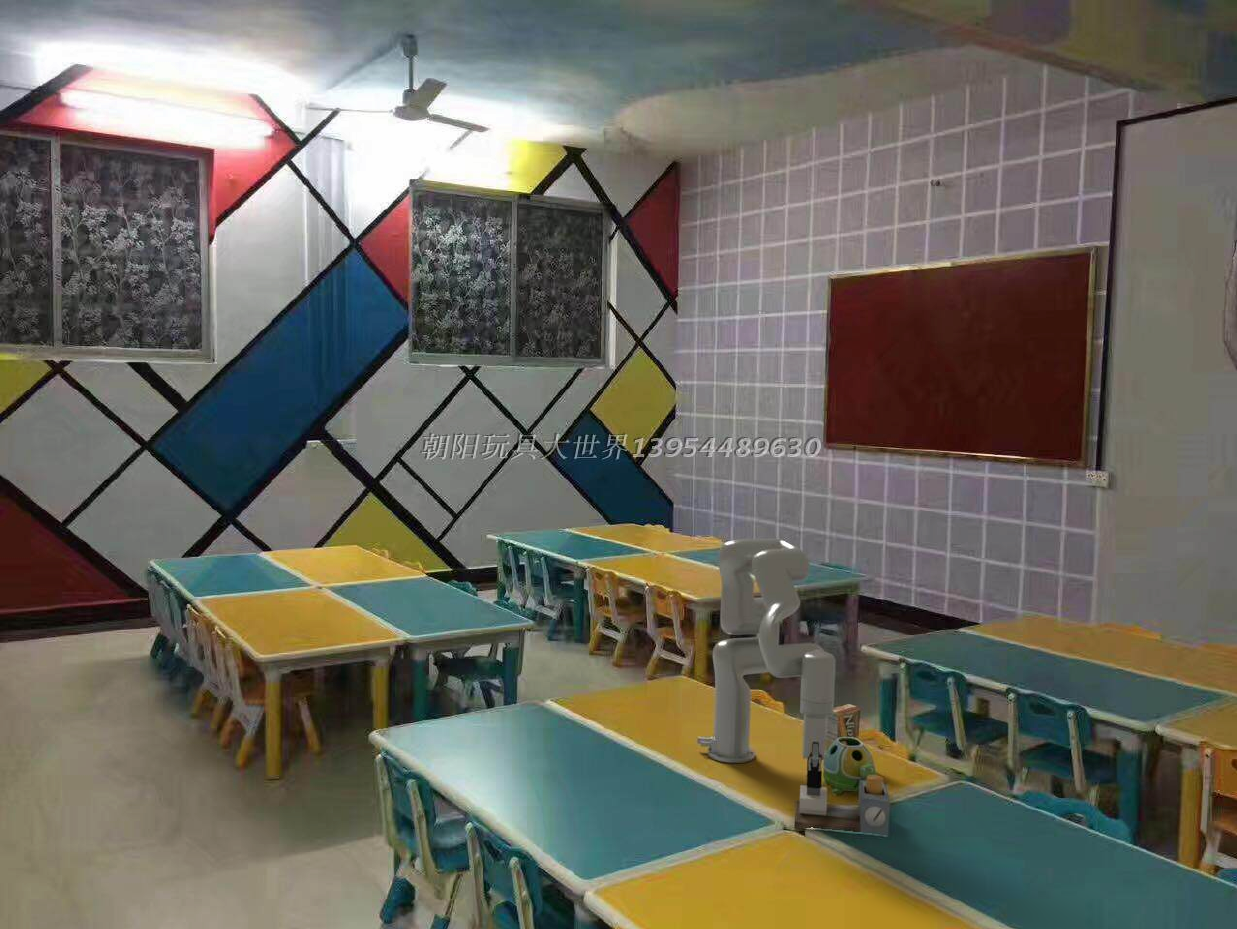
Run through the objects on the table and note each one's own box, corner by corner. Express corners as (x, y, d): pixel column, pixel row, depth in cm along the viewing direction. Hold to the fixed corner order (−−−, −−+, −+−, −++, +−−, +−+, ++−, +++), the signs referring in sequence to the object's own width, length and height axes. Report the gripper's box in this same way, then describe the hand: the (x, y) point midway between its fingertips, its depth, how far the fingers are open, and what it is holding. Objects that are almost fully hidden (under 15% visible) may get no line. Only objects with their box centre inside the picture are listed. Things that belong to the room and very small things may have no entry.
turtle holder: (846, 808, 245) (848, 758, 244) (813, 779, 263) (815, 733, 262) (893, 804, 248) (895, 755, 248) (858, 776, 266) (860, 730, 265)
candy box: (845, 759, 278) (848, 703, 277) (858, 764, 275) (860, 707, 274) (824, 766, 272) (826, 709, 271) (837, 771, 269) (839, 713, 268)
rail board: (794, 827, 233) (794, 812, 233) (795, 806, 245) (795, 792, 245) (860, 834, 231) (861, 819, 231) (858, 813, 243) (858, 798, 242)
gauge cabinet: (860, 835, 230) (862, 800, 230) (858, 813, 243) (859, 779, 242) (888, 838, 229) (889, 803, 229) (884, 815, 241) (886, 782, 241)
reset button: (866, 797, 234) (867, 779, 234) (865, 791, 238) (866, 774, 237) (882, 798, 234) (883, 781, 233) (881, 792, 237) (882, 775, 237)
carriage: (799, 815, 235) (801, 767, 234) (799, 802, 243) (801, 755, 242) (826, 818, 234) (828, 770, 233) (825, 804, 242) (827, 758, 241)
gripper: (800, 694, 246) (797, 764, 247) (799, 716, 229) (796, 792, 230) (832, 696, 244) (830, 767, 246) (834, 719, 227) (831, 795, 229)
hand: (813, 779), depth 238 cm, fingers open, 9 cm apart
